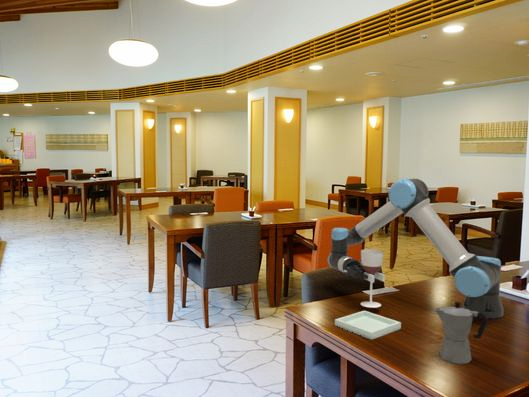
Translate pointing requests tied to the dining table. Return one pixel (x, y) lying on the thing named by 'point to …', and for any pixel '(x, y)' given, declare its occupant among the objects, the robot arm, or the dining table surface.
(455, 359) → the coffeepot
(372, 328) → the tray
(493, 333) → the dining table surface
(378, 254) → the wineglass
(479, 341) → the dining table surface
